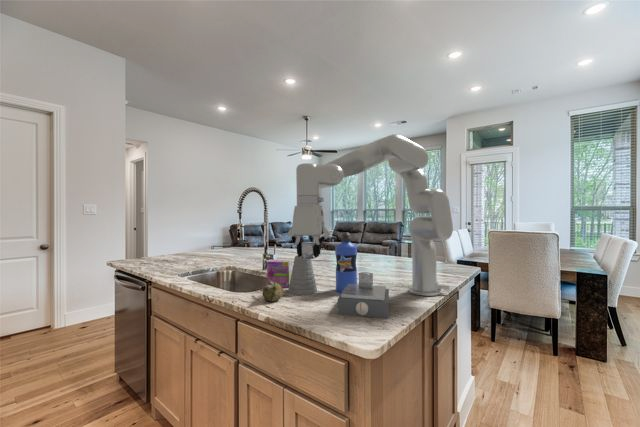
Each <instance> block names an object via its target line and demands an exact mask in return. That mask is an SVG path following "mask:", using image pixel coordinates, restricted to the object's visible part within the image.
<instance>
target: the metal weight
mask: <svg viewBox="0 0 640 427" xmlns="http://www.w3.org/2000/svg"><path fill="white" fill-rule="evenodd" d="M358 285H359V288H361V289H372V288H373V286H374V274H373V273H372V272H369V271H368V272H367V271H365V272H364V271H363V272H361V271H360V272H359V273H358Z"/></svg>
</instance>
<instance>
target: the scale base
mask: <svg viewBox="0 0 640 427" xmlns="http://www.w3.org/2000/svg"><path fill="white" fill-rule="evenodd" d="M345 288H346V287H345ZM343 291H344V290H343ZM341 294H342V293H340V295H339V296H338V298H337V315H344V316H345V315H347V316H360V317H369V318H372V317H373V318H382V319H388V318H389V309H390V308H389V306H390V290H389V289H388V288H386V293H385V301H381V300H366V299H351V298H341Z"/></svg>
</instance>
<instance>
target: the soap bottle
mask: <svg viewBox="0 0 640 427" xmlns="http://www.w3.org/2000/svg"><path fill="white" fill-rule="evenodd" d="M296 254H297V253H296ZM293 260H294V261H293V262H292V274H291V279H290V284H289V288H287V289H288V293H289V294H291V295H294V296H308V295H314V294H315V293H316V294H317V292H318V286H317V282H316V278H315V273H314V268H313V264H312V263H313V262H312V259H302V258H301V256H300V257H298V254H297V255H295V256H294V259H293Z"/></svg>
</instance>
